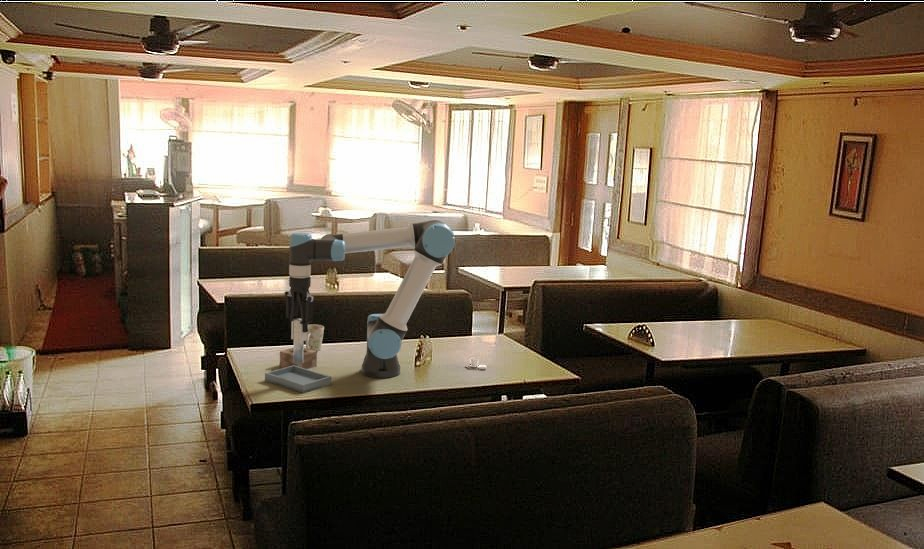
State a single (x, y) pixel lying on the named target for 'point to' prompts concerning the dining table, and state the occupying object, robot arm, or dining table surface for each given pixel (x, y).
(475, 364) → the teacup and saucer
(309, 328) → the mug
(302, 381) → the slate tray
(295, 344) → the steel pin
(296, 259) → the robot arm
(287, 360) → the wooden hollow square frame
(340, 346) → the dining table surface
